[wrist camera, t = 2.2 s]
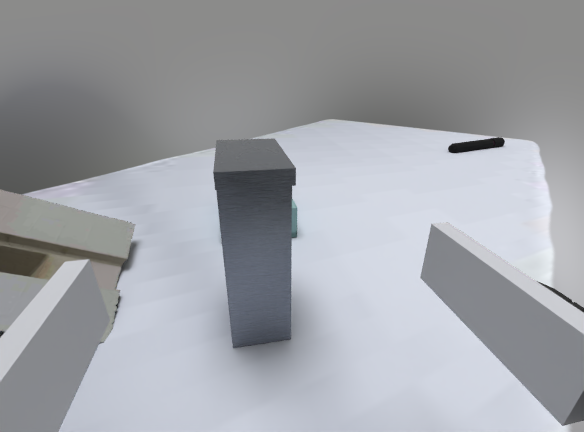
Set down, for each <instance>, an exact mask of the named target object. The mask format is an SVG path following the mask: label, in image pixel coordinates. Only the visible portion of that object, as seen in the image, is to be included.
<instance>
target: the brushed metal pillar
mask: <svg viewBox="0 0 584 432" xmlns="http://www.w3.org/2000/svg"><path fill="white" fill-rule="evenodd" d="M213 173H214V182H215V190H217V200H218V209H219V219H220V228H221V238H222V248H223V257H224V267H225V276H226V286H227V295H228V305H229V314H230V324H231V333H232V343H233V348H236V347H243V346H249V345H256V344H262V343H269V342H275V341H282V340H289V339H291V238H292V186H294V185H296V168H295V166H294V165H293V164H292V162H291V161H290V159H289V158H288V157H287V155H286V154H285V153H284V151H283V150H282V148H281V147H280V146H279V144H278V143H277V141H276V140H275V139H247V140H217V144H216V153H215V162H214V172H213Z"/></svg>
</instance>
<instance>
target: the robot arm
mask: <svg viewBox="0 0 584 432" xmlns="http://www.w3.org/2000/svg"><path fill="white" fill-rule="evenodd" d="M420 278H421V279H422V280H423V281H424V282H425V283H426V284H427V285H428V286H429V287H430V288H431V289H432V290H433V291H434V292H435V293H436V295H437V296H438V297H439V298H440V299H441V300H442V301H443V302H444V303H445V304H446V305H447V306H448V307H449V308H450V309H451V310H452V311H453V312H454V313H455V314H456V315H457V316H458V317H459V318H460V320H461V321H462V322H463V323H464V324H465V325H466V326H467V327H468V328H469V329H470V330H471V331H472V332H473V333H474V334H475V335H476V336H477V337H478V338H479V339H480V340H481V341H482V342H483V344H484V345H485V346H486V347H487V348H488V349H489V350H490V351H491V352H492V353H493V354H494V355H495V356H496V357H497V358H498V359H499V360H500V361H501V362H502V363H503V364H504V365H505V366H506V367H507V369H508V370H509V371H510V372H511V373H512V374H513V375H514V376H515V377H516V378H517V379H518V380H519V381H520V382H521V383H522V384H523V385H524V386H525V387H526V388H527V389H528V390H529V391H530V393H531V394H532V395H533V396H534V397H535V398H536V399H537V400H538V401H539V402H540V403H541V404H542V405H543V406H544V407H545V408H546V409H547V410H548V411H549V412H550V413H551V414H552V415H553V416H554V418H555V419H556V420H557V421H558V422H559V423H560V424H561V425H562V426H564V425H568V424H572V423H575V422H580V421H584V308H583V307H581V306H580V305H578V304H577V303H575V302H574V303H573V302H572V300H571V299H569V298H567V297H566V296H565V295H563V294H562V293H560V292H558V291H557V290H555V289H553V288H551V287H549V286H547V285H544V284H542V283H540V282H538V281H535V280H534V279H532V278H531V277H529V276H528V275H526V274H525V273H523V272H522V271H520V270H519V269H517V268H516V267H514V266H513V265H511V264H510V263H508V262H507V261H505V260H504V259H502V258H501V257H499V256H498V255H496V254H495V253H493V252H492V251H490V250H489V249H487V248H486V247H484V246H483V245H481V244H480V243H478V242H477V241H475V240H474V239H472V238H471V237H469V236H468V235H466V234H465V233H463V232H462V231H460V230H459V229H457V228H456V227H454V226H453V225H451V224H450V223H448V222H446V223H436V224H431V229H430V234H429V239H428V244H427V248H426V253H425V258H424V263H423V268H422V272H421V277H420ZM109 321H110V318H109V315H108V312H107V309H106V306H105V303H104V300H103V297H102V295H101V292H100V289H99V286H98V283H97V280H96V277H95V274H94V271H93V268H92V265H91V262H90V259H86V260H77V261H67V262H64V263H63V265H62V266H61V267H60V268H59V269H58V270H57V272H56V273H55V274H54V275H53V276H52V278H51V279H50V280H49V281H48V282H47V283H46V285H45V286H44V287H43V288H42V289H41V290H40V292H39V293H38V294H37V295H36V296H35V298H34V299H33V300H32V301H31V302H30V303H29V305H28V306H27V307H26V308H25V309H24V310H23V312H22V313H21V314H20V315H19V316H18V318H17V319H16V320H15V321H14V322H13V323H12V325H11V326H10V327H9V328H8V329H7V330H6V332H5V333H4V334H3V335H2V336H1V338H0V432H58V431H59V429H60V427H61V425H62V422H63V420H64V418H65V416H66V414H67V412H68V409H69V407H70V405H71V403H72V401H73V399H74V397H75V394H76V392H77V390H78V388H79V386H80V384H81V381H82V379H83V377H84V375H85V373H86V371H87V369H88V366H89V364H90V362H91V360H92V358H93V356H94V354H95V351H96V349H97V347H98V345H99V343H100V341H101V338H102V336H103V334H104V332H105V330H106V328H107V326H108V323H109Z"/></svg>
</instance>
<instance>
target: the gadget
mask: <svg viewBox="0 0 584 432" xmlns="http://www.w3.org/2000/svg"><path fill="white" fill-rule="evenodd" d="M504 142H505V141H504V139H503V138H499V137H498V138H491V139H485V140H478V141H470V142H462V143H454V144H451V145H450V146H449V148H448V150H449V152H451V153H458V152H465V151H472V150H479V149H486V148H494V147H501V146H503V145H504Z"/></svg>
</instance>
